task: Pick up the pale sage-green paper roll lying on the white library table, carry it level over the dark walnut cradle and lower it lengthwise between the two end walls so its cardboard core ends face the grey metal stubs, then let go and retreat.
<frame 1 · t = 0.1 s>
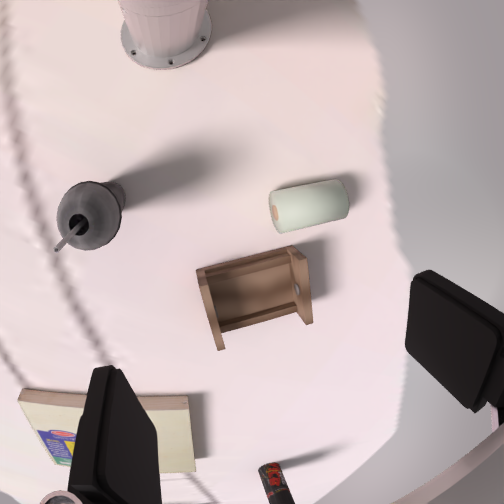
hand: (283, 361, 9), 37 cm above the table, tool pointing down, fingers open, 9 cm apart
walnut cradle: (251, 289, 49), on the table
paper roll: (308, 205, 44), point 3 cm above the table
deodorant: (268, 467, 69), on the table
puzzle box: (110, 429, 54), on the table
beverage cup: (110, 197, 40), on the table
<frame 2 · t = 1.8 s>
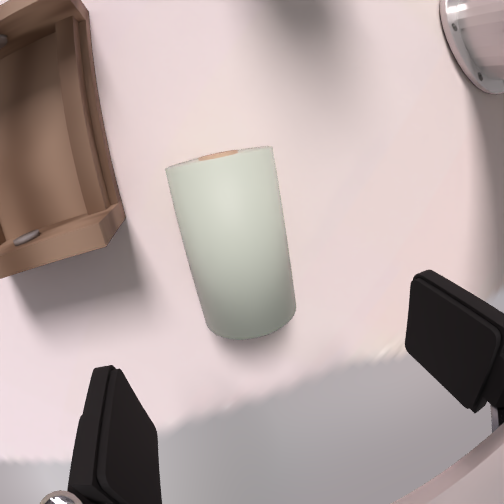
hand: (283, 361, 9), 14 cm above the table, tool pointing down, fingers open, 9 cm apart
walnut cradle: (29, 134, 16), on the table
paper roll: (235, 240, 18), point 3 cm above the table
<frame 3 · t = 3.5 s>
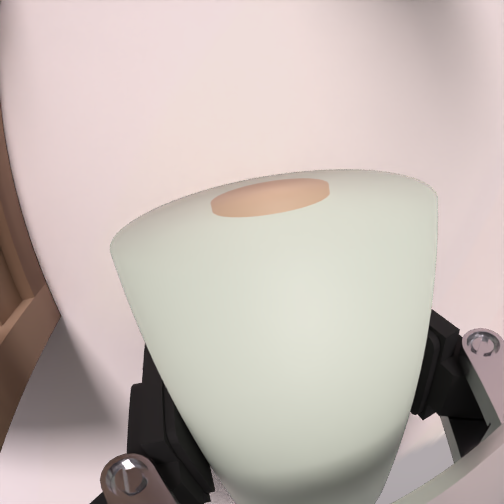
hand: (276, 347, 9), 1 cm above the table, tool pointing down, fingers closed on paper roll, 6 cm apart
paper roll: (299, 389, 8), point 3 cm above the table, touching gripper
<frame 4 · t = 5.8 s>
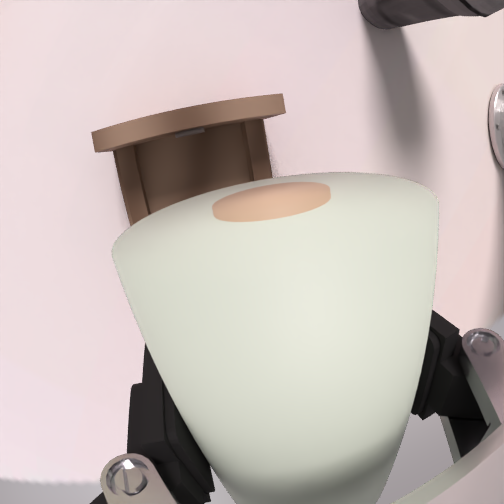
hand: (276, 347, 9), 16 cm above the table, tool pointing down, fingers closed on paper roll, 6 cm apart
walnut cradle: (203, 215, 24), on the table
paper roll: (299, 391, 8), point 18 cm above the table, touching gripper
beverage cup: (376, 10, 21), on the table
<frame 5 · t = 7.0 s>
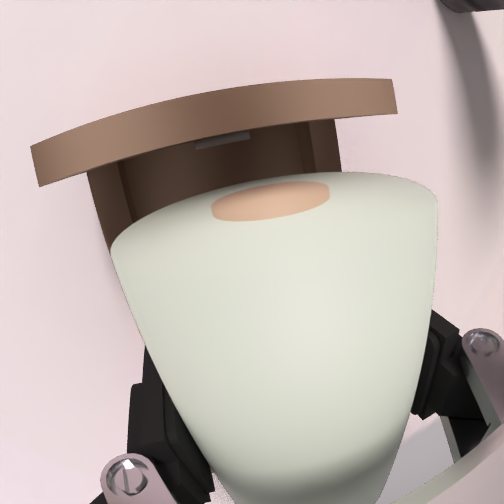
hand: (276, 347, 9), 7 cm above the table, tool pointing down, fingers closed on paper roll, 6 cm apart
walnut cradle: (236, 268, 16), on the table
paper roll: (299, 391, 8), point 9 cm above the table, touching gripper
when the fingers open (3 cm above the table, at t = 8.2 s): paper roll drops 1 cm, resting on walnut cradle.
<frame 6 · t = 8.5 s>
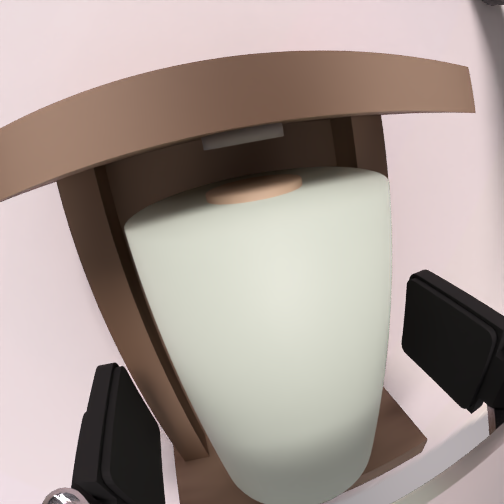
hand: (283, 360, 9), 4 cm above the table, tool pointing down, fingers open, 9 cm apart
walnut cradle: (251, 299, 13), on the table
paper roll: (283, 359, 9), point 4 cm above the table, touching walnut cradle
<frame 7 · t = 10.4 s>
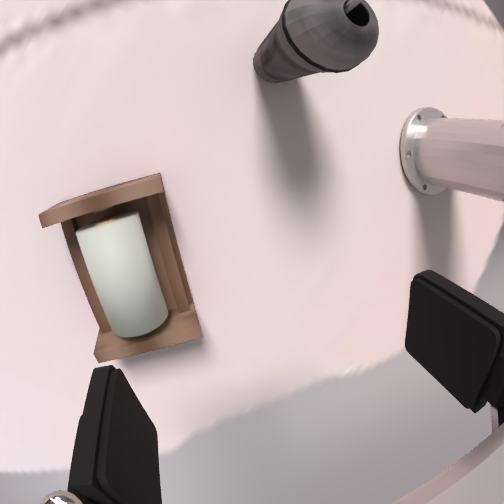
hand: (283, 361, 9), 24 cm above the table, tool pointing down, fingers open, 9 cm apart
walnut cradle: (127, 258, 30), on the table
paper roll: (122, 273, 27), point 4 cm above the table, touching walnut cradle
beverage cup: (272, 63, 28), on the table
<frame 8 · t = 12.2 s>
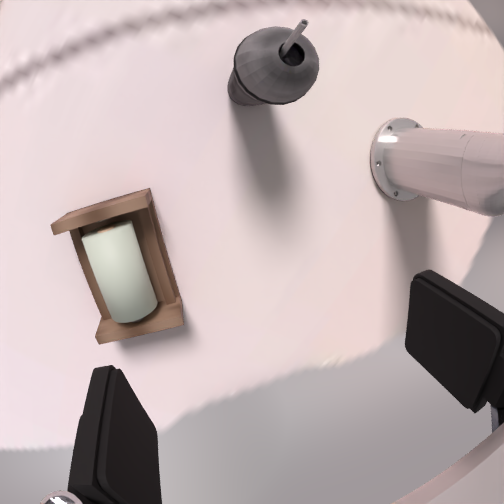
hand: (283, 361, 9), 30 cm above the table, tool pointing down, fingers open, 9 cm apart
walnut cradle: (124, 258, 37), on the table
paper roll: (120, 270, 33), point 4 cm above the table, touching walnut cradle
beverage cup: (245, 88, 34), on the table
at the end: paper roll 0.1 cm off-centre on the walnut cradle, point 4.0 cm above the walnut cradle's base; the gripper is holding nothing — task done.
